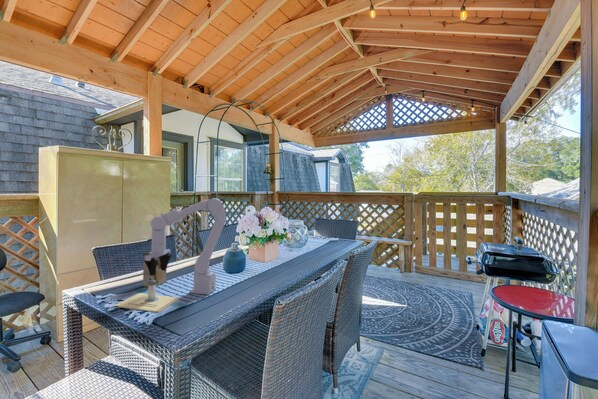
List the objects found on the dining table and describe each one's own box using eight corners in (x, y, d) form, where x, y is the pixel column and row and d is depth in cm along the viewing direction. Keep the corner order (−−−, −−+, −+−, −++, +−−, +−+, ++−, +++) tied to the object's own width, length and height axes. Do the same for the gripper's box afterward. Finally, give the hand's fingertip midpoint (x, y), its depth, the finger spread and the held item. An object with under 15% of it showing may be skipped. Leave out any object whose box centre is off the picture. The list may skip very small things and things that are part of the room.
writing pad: (180, 298, 125) (180, 297, 125) (158, 312, 111) (158, 311, 111) (139, 293, 129) (139, 292, 129) (114, 306, 115) (114, 305, 115)
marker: (157, 298, 123) (157, 280, 123) (152, 301, 120) (152, 282, 120) (150, 297, 124) (151, 279, 123) (146, 300, 121) (146, 281, 120)
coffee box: (155, 280, 147) (156, 249, 146) (166, 281, 146) (167, 250, 145) (142, 286, 138) (142, 253, 137) (154, 287, 137) (154, 254, 136)
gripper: (161, 239, 137) (160, 267, 138) (139, 245, 123) (138, 276, 123) (174, 240, 136) (174, 268, 136) (153, 246, 121) (153, 278, 122)
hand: (158, 272), depth 130 cm, fingers open, 7 cm apart
